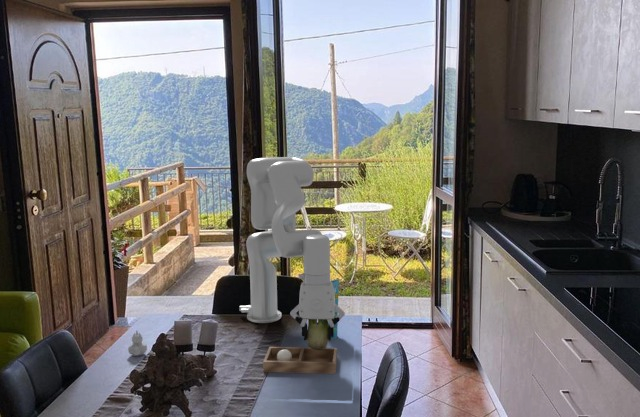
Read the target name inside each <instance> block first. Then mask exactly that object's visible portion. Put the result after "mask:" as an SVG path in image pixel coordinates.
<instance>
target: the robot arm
mask: <svg viewBox="0 0 640 417" xmlns="http://www.w3.org/2000/svg"><path fill="white" fill-rule="evenodd" d="M246 178H247V181H248V184H249V187H250V188H249V189H250V194H251V195H250V222H251V225H252V227H253V228H254V229H256V230H260V232H254V233H252V234H250V235H248V237H247V238H246V242H245V243H246V244H245V245H246V246H245V247H246V252H247V256H248V263H249V264H248V265H249V280H250V281H249V282H250V288H249V289H250V304H248V305H239V308H238V309H239V312H241V313H243V314H244V313H246V314H247V315H246V319H247V320H248V321H249V322H251V323H256V324H257V323H258V324H269V323H274V322H277V321H279V320H280V319H282V312H281V311H280V310H278V289H277V288H278V287H277V286H278V283H277V280H278V278H277V268H276V267H275V265H274V264H273V263H272V261H270V259H273V258H280V257H282V258H288V259H290V258H298V257H303V258H302V260H303V264H302V265H303V273H301V274H300V273H299V274H298V280H302V281H301V283H300V286H299V287H300V289H299V302H298V304H297V305H296V306H295V307H294V308H293V309H291V311H290V313H289V314H290V316H291V317H292V318H293V319H294V320H295V321H296V322H297V324H299V325H300V327H301V337H303V341H307V330H308V323H307V321H308V319H317V320H318V319H327V321H328V323H329V326H328V342H329V341H330V342H331V341H332V339H331V337H333V336H334V325H335V324H337V323H338V324H339V322H340V320H342V319H343V318H344V316H345V315H346V314H345V313H346V312H345V311H344V310H343V309H342V308H341V307H339V305H338V306H337V305H336V304H335V295H334V288H333V283H332V282H331V281H332V280H331V240H330V238H329V237H328V235H326V234H323V233H322V232H321V231H320V230H318V229H302V230H296V228H297V225H296V224H297V212H299V211H300V210H301V209H302V208H304V206H305V203H306V199H305V195H304V192H303V190H302V187H309V186H311V185H312V184H313V182H314V178H315V177H314V169H313V167H312V165H311V164H310V163H309V162H308V161H307V160H305V159H302V158H298V157H296V156H295V157H294V156H282V157H281V156H277V157H274V156H273V157H259V158H254V159H251V160H249V162H248V163H247V166H246ZM261 230H263V231H261ZM264 230H268V231H264ZM269 230H270V231H269ZM335 311H336V312H337V313H338V315H337V316H336V317H335V318H334V316H335ZM333 318H334V319H333Z"/></svg>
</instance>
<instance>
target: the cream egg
mask: <svg viewBox="0 0 640 417" xmlns="http://www.w3.org/2000/svg"><path fill="white" fill-rule="evenodd" d="M277 360H278V361H291V360H292V354H291V352H290V351H289V350H287V349H282V350H280V351H279V352H278V354H277Z"/></svg>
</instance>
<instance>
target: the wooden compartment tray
mask: <svg viewBox="0 0 640 417" xmlns="http://www.w3.org/2000/svg"><path fill="white" fill-rule="evenodd" d="M282 349H287V350H289V351H290V352H291V354H292V360H291V361H278V360H277V354H278V352H279V351H280V350H282ZM263 358H264V359H263V362H262V366H263V367H262V368H263V369H262V371H263V373H286V374H287V373H289V374H290V373H294V374H295V373H297V374H300V373H301V374H333V375H335V374H336V371H337V362H338V348H337V347H326V348H324V349H322V350H314V349H312V348H310V347H309V346H308V347H304V346H303V347H299V346H298V347H297V346H293V347H292V346H269V347H268V349H267V352H266V354H265V356H264V357H263Z"/></svg>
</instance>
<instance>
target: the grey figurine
mask: <svg viewBox="0 0 640 417" xmlns="http://www.w3.org/2000/svg"><path fill="white" fill-rule="evenodd" d="M131 341H132V343H131V344H130V345H129V346H128V353H129V354H130V355H132V356H135V357H136V356H137V357H139V356H142V355H144V354H145V353H146V352H147V350H148V345H147V344H146V342H144V341H143V335H142V334H141V332H139V331H138V330H136V332H134V333H133V335H132V337H131Z"/></svg>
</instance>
